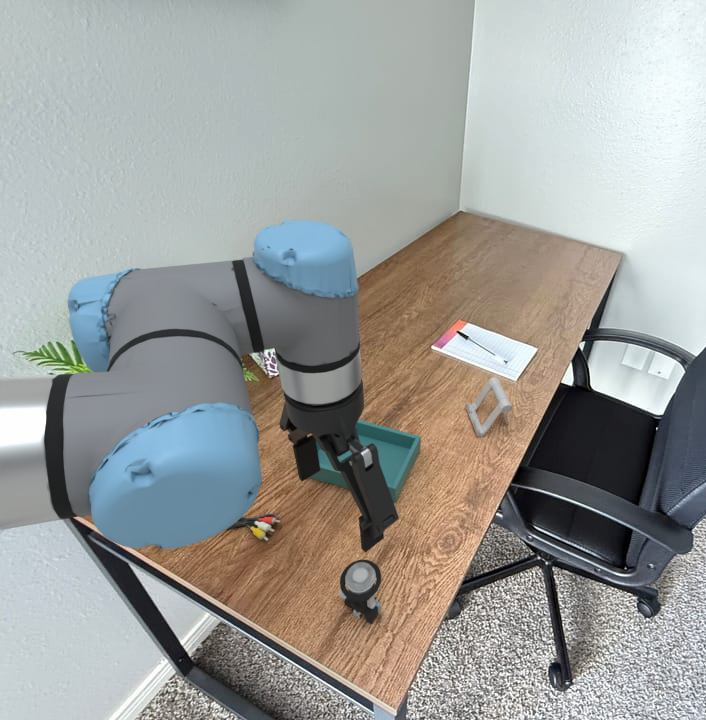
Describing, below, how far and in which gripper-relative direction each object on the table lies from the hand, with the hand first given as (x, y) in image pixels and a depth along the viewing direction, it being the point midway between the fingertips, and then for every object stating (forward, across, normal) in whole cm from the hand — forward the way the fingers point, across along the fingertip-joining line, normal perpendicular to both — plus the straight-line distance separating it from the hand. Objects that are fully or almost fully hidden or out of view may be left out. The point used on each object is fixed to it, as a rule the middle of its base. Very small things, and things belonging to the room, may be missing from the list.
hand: (339, 507), depth 59 cm
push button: (+19, -4, +1) cm, 19 cm away
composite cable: (+19, +18, +6) cm, 27 cm away
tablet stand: (+19, +8, -41) cm, 46 cm away
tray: (+19, +17, -14) cm, 29 cm away
